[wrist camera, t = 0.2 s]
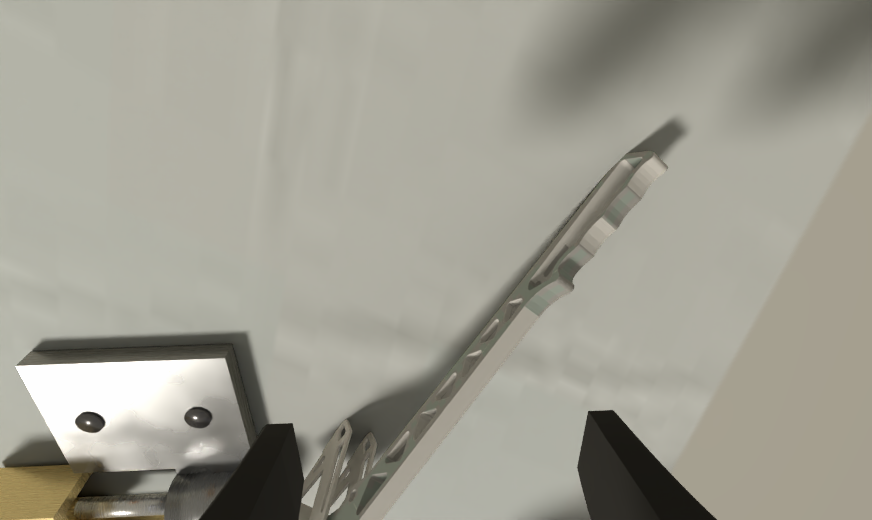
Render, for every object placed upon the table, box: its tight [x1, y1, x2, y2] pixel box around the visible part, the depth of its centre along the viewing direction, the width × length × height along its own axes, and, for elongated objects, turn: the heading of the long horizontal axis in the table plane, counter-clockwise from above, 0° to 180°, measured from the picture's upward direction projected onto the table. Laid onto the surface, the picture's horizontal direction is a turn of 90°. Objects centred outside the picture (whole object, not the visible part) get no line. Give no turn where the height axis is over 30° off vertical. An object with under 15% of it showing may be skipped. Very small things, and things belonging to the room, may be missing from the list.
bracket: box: [299, 151, 668, 520], centre depth 22 cm, size 3×21×10 cm, turn 140°
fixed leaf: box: [16, 344, 257, 520], centre depth 24 cm, size 10×9×3 cm
